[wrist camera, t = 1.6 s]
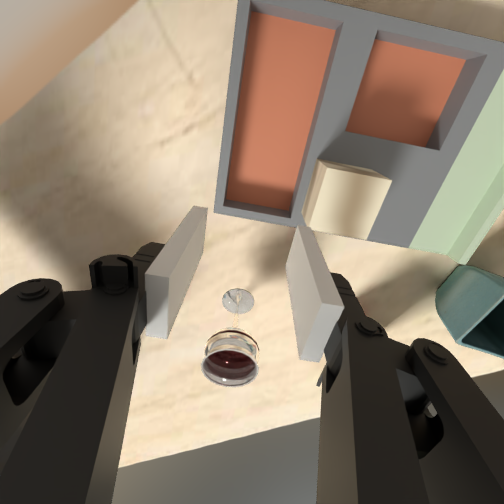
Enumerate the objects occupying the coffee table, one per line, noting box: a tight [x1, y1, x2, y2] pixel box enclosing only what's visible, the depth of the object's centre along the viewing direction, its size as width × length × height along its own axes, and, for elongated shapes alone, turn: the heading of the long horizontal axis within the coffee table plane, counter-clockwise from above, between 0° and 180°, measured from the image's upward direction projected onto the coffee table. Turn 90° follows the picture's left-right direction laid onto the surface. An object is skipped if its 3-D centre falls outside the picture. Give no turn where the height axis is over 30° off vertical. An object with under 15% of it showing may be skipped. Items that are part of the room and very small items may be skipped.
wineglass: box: [201, 289, 259, 387], centre depth 35 cm, size 7×7×12 cm
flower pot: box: [435, 265, 504, 359], centre depth 34 cm, size 9×9×9 cm
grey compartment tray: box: [214, 0, 504, 265], centre depth 27 cm, size 30×20×5 cm, turn 80°
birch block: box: [301, 159, 392, 240], centre depth 27 cm, size 6×6×5 cm
